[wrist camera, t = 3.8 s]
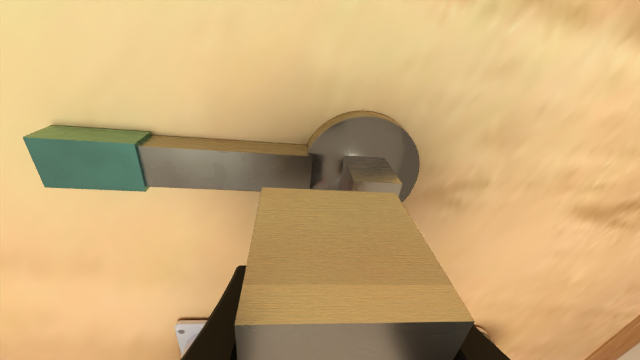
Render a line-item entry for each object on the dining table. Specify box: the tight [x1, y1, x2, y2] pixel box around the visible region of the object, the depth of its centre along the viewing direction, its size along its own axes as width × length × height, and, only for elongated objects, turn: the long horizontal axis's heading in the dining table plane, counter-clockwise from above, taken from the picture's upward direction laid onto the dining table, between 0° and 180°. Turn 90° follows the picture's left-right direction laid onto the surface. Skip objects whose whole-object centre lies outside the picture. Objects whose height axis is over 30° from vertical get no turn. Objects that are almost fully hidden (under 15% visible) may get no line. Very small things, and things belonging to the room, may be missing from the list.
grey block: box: [235, 187, 475, 360], centre depth 9 cm, size 5×5×6 cm
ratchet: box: [23, 111, 419, 202], centre depth 15 cm, size 7×20×4 cm, turn 84°
